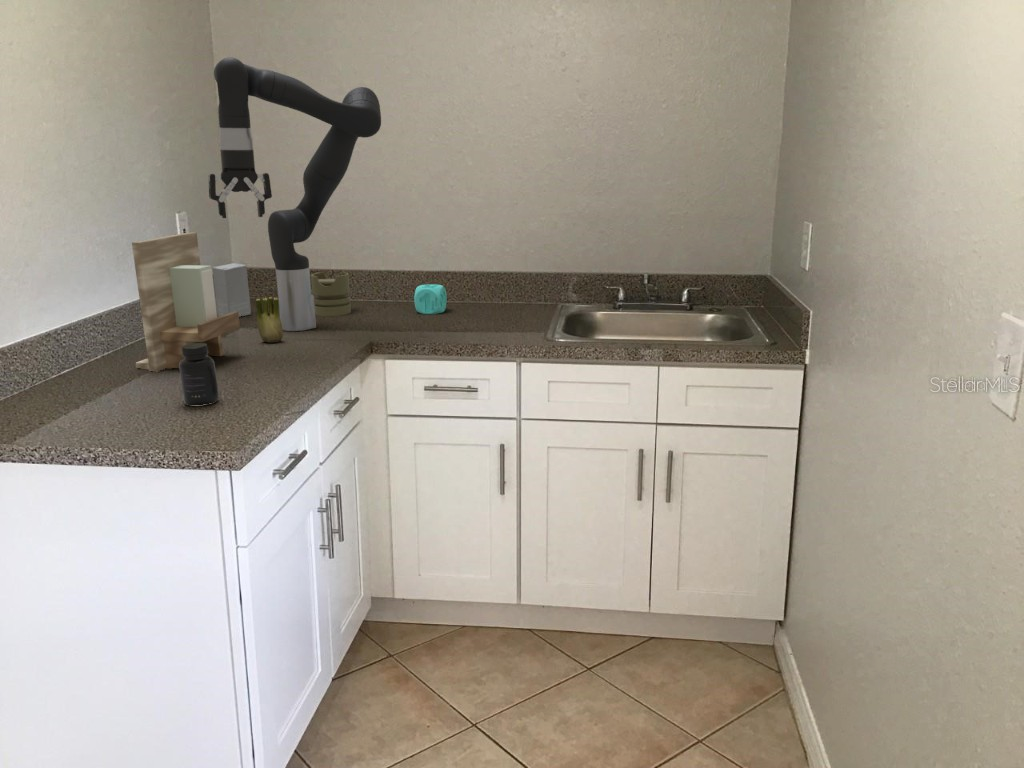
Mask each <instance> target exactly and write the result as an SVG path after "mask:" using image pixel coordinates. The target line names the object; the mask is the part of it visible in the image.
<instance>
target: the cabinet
mask: <svg viewBox="0 0 1024 768" xmlns="http://www.w3.org/2000/svg"><path fill="white" fill-rule="evenodd" d="M200 265H201V264H200ZM200 265H180V266H176V267H172V268H169V271H170V279H171V287H172V295H173V303H174V310H175V318H176V326H182V327H197V325H198V324H201V323H204V322H206V321H209V320H212V319H215V318H218V313H217V305H216V296H215V287H214V278H213V269H212V265H201V266H200Z"/></svg>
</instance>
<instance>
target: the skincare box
mask: <svg viewBox="0 0 1024 768" xmlns="http://www.w3.org/2000/svg"><path fill="white" fill-rule="evenodd" d="M211 268H212V276H213V284H214V293H215V302H216V310H217V318H218V317H221V316H223V315H226V314H229V313H232V312H238V314H239V318H241V316H242V317H244V316H249V315H252V310H251V299H250V290H249V289H250V288H249V280H248V278H249V277H248V269H247V268H248V266H247V265H246V264H240V263H236V262H232V263H229V264H228V263H227V264H222V265H219V266H211Z"/></svg>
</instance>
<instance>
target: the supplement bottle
mask: <svg viewBox="0 0 1024 768" xmlns="http://www.w3.org/2000/svg"><path fill="white" fill-rule="evenodd" d="M207 354H208V350H207V345H206V344H205V343H193V344H187V345H184V346H182V356H183V357H184V359H182V360H181V361H180V363H179V369H178V370H179V377H180V384H181V390H182V397H183V402H184V404H185V405H186V404H188V405H203V404H209V403H213V402H215V401H217V400H218V401H219V398H220V396H219V395H220V394H219V390H218V389H219V388H218V380H217V372H216V363H215V361H214V359H213V358H212V356H207ZM218 401H217V402H218Z"/></svg>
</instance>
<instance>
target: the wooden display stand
mask: <svg viewBox="0 0 1024 768" xmlns="http://www.w3.org/2000/svg"><path fill="white" fill-rule="evenodd" d="M131 246H132V254H133V260H134V269H135V277H136V284H137V289H138V290H137V291H138V296H139V297H138V298H139V303H140V304H139V305H140V311H141V313H140V314H141V318H142V319H141V321H142V326H143V333H144V341H145V346H146V355H147V358H145V359H142V360H140V361H137V362H135V367H136V369H137V368H141V369H140V370H149V372H150V371H156V372H155V373H158V372H157V371H159V372H161V371H160V370H162V369H164V370H166V369H165V368H167V369H172V368H179V363H180V361H181V360H182V359H184V357H183V356H182V346H184V345H187V344H193V343H205V344H206V345H207V350H208V354H207V356H209V357H212V356H213V357H221V356H223V355H224V350H223V349H224V348H223V341H222V339H223V338H222V335H224V334H227V333H230V332H232V331H235V330H237V329H240V328H241V324H240V317H239V314H238V312H232V313H229V314H226V315H223V316H221V317H218V316H217V318H215V319H212V320H209V321H206V322H204V323H201V324H198V325H197V327H182V326H176V318H175V310H174V303H173V295H172V287H171V279H170V271H169V268H172V267H176V266H180V265H200V266H202V265H201V256H200V249H199V242H198V233H197V232H193V231H192V232H184V233H179V234H172V235H167V236H162V237H157V238H156V237H155V238H151V239H150V238H149V239H145V240H140V241H139V240H138V241H134V242H131ZM162 371H163V370H162Z"/></svg>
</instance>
